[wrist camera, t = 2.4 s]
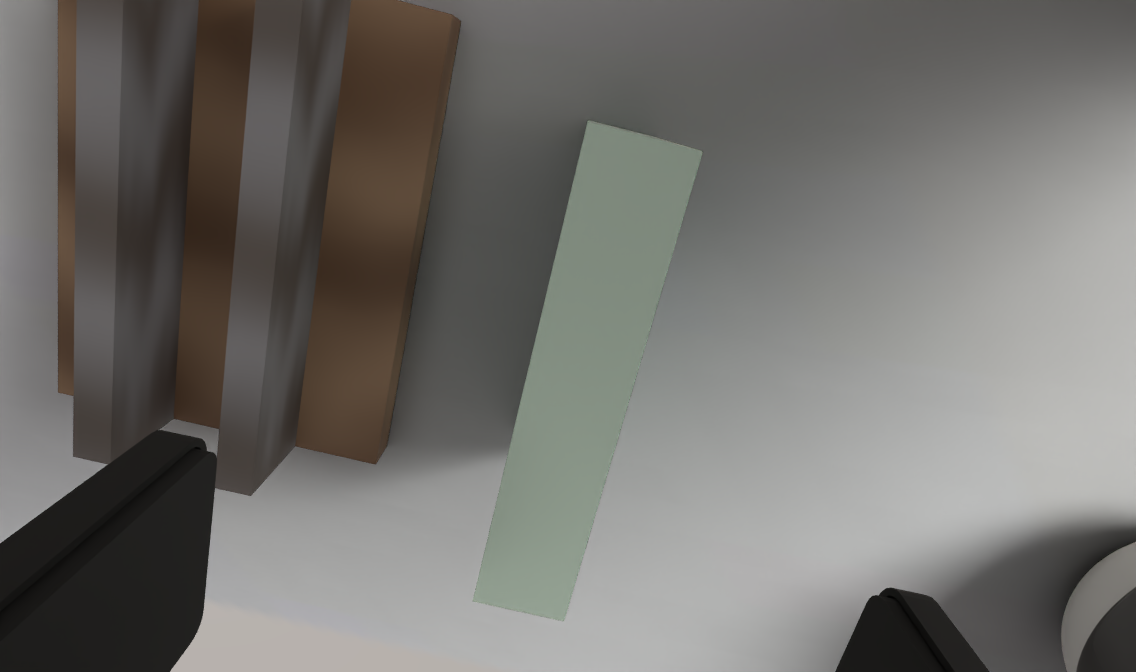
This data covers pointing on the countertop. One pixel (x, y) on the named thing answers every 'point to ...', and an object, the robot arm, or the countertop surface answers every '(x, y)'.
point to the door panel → (584, 363)
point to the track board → (243, 219)
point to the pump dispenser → (1103, 617)
